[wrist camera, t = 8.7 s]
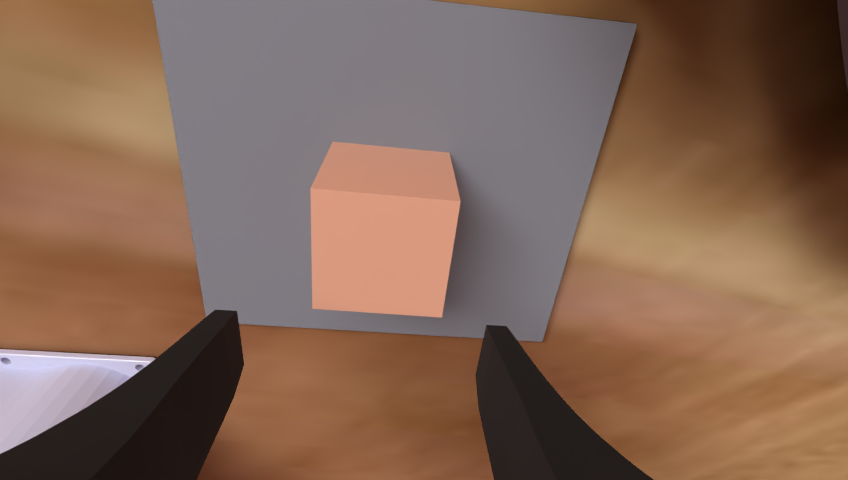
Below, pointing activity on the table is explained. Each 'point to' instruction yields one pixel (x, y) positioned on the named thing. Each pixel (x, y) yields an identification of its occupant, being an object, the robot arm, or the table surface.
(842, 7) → the bluetooth speaker
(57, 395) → the robot arm
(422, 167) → the terracotta cube
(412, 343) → the table surface
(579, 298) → the table surface
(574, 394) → the table surface
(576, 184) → the gray placemat
